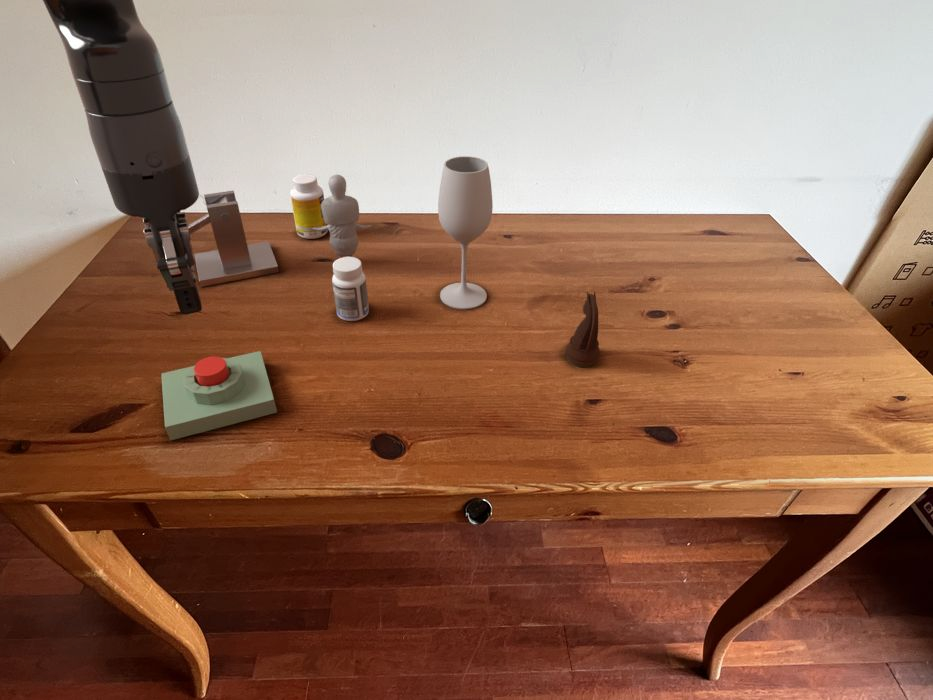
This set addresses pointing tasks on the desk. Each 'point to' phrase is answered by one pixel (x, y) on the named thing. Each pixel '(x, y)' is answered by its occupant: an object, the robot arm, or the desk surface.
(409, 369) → the desk surface
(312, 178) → the supplement bottle
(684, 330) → the desk surface
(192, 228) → the lever handle
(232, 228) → the lever stand
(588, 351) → the chess piece
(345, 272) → the pill bottle
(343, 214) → the figurine
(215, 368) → the red button
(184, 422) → the button block
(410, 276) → the desk surface
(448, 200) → the wineglass
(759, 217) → the desk surface
